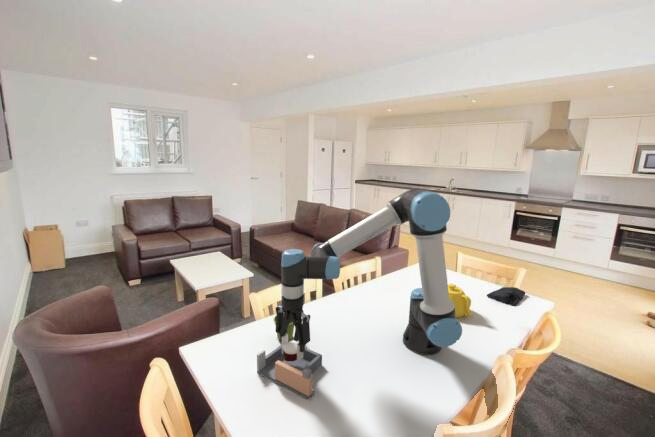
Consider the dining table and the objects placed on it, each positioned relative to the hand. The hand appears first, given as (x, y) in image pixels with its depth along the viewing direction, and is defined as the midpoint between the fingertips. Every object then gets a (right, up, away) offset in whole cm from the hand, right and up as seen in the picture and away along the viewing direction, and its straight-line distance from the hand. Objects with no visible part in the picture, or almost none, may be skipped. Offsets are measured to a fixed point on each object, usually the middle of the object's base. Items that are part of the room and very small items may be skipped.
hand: (292, 355), depth 111 cm
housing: (+2, -5, -2) cm, 6 cm away
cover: (+1, -6, -10) cm, 11 cm away
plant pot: (-5, -1, +19) cm, 19 cm away
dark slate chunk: (+113, +4, +64) cm, 130 cm away
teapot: (+73, +2, +47) cm, 87 cm away
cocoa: (0, -1, 0) cm, 1 cm away
